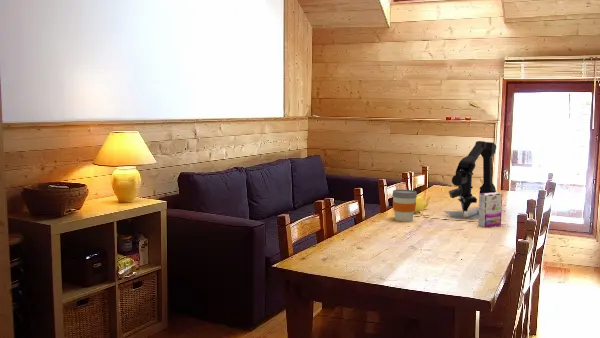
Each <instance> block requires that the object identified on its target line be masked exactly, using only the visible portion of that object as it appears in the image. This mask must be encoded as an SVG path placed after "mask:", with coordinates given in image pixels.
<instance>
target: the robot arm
mask: <svg viewBox="0 0 600 338" xmlns="http://www.w3.org/2000/svg"><path fill="white" fill-rule="evenodd" d="M496 150H497V145H496V144H495V142H492V141H484V140H478V141H475V144H474V146H473V147H472V149H471V150H470V152H469V153H468V154H467V156H465V157H462V159H461V160H459V163H458V165H457V167H456V170H455V174H454V175H453V176H452V178H451V183H452V184H453V186H455V187H457V188H454V189H451V190H448V195H449V197H450V198H452V199H455V198H457V197H458V198H457V201H458V202H460V205H461V208H462V211H463V213H464V211H467V210H469V208H470V206H471V204H477V202H478V198H476V197H475V196H473V194H472V189H473V186H472V185H473V184H472V182H473V181H472V179H473V175H474V173H473V171H474V170H475V168H476V162H477V160H478V159H479V157H480V155H481V157H482V162H483V163H482V168H483V170H482V171H483V172H482V175H483V176H482V178H483V179H482V185H481V186H480V187H479V194H483V193H493V192H497V191H496V186H495V185H494V183H493V157H494V155H495V154H496Z"/></svg>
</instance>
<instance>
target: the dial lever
mask: <svg viewBox="0 0 600 338" xmlns="http://www.w3.org/2000/svg"><path fill="white" fill-rule="evenodd" d="M475 214H479V206H478V207H474V208H470V209H468V210H467V211H464V217H469V216H472V215H475Z"/></svg>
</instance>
